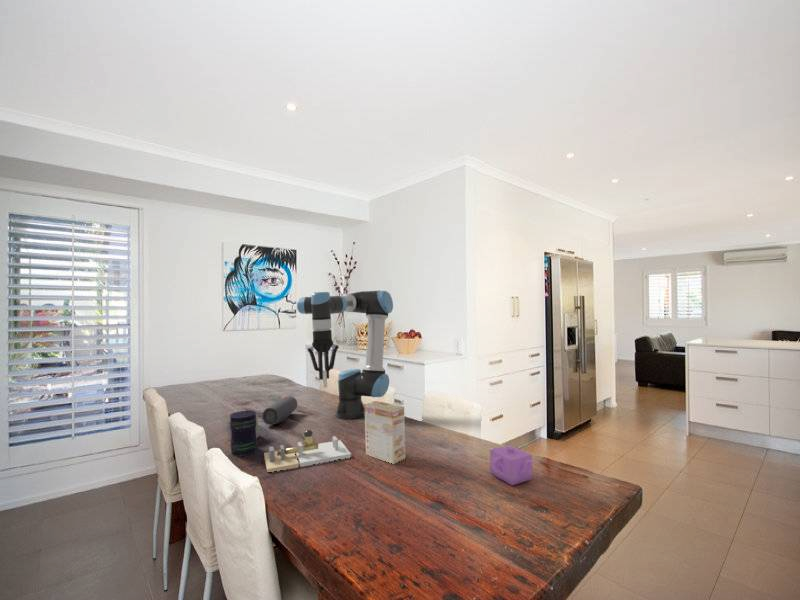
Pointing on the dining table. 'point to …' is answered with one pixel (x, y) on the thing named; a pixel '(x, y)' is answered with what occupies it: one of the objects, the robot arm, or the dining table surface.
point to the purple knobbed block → (511, 464)
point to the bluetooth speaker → (279, 410)
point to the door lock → (306, 456)
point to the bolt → (307, 447)
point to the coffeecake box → (385, 431)
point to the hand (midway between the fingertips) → (324, 386)
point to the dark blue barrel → (243, 433)
